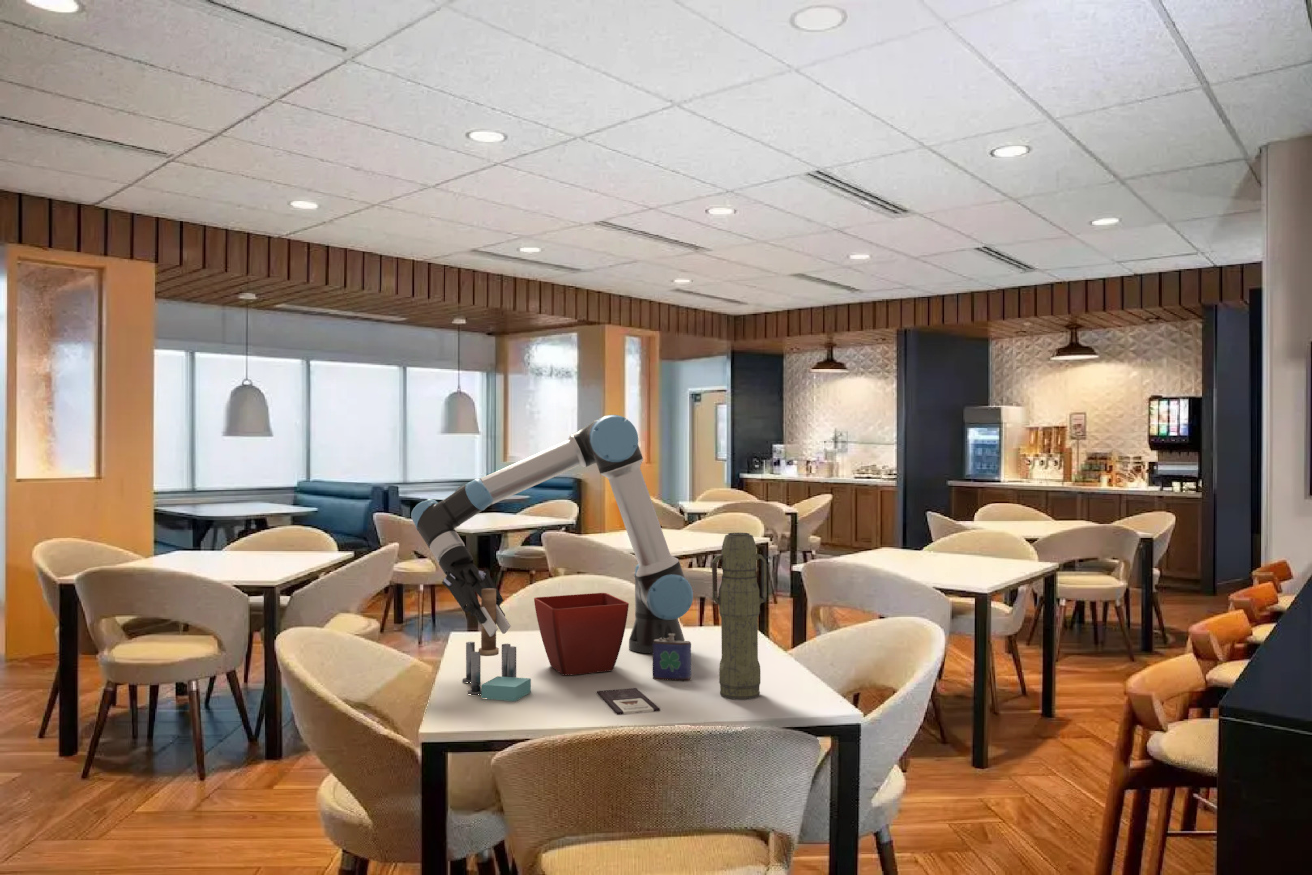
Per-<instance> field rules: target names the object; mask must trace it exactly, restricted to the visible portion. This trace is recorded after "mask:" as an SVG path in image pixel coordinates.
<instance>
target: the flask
mask: <svg viewBox="0 0 1312 875" xmlns="http://www.w3.org/2000/svg"><path fill="white" fill-rule="evenodd" d="M668 635H669V637H668V638H663V639H665V640H663V639H662V638H660V639H656V640H654V641H653V653H652V679H653V680H656V681H657V680H658V681H672V682H674V681H675V682H690V681H691V680H692V653H691V652H692V642H691V641H690V640H685V641H674V636H675V634H673V633H672V634H671V633H670V634H668Z"/></svg>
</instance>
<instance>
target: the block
mask: <svg viewBox="0 0 1312 875" xmlns="http://www.w3.org/2000/svg"><path fill="white" fill-rule="evenodd" d="M531 684H532V679H531V678H530V677H529V678H528V677H517V676H516V677H502V675H501V676H500V675H499V676H498V675H497V676H495V677H494V678H493V677H492V678H491V679H490V680H488V681H486V682H484V683H482V684H481V695H480V696H481V698H487V699H486V700H493V699H495V701H507V702H516V701H518V700H520V699H522V698H524V697H525V696H527V695H529V694H530V693H531V692H532V691H531V690H532V685H531Z"/></svg>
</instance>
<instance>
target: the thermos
mask: <svg viewBox="0 0 1312 875" xmlns="http://www.w3.org/2000/svg"><path fill="white" fill-rule="evenodd" d="M719 560H721V570H722V575H721V582H720V586H719V589H718V562H719ZM759 560H760V561H761V590H760V587H759V584H758V581H757V580H758V577H757V576H758V575H757V574H756V570H757V561H759ZM767 564H768V563H767V560H766V558H765V557H764V555H762V554H759V553H757V544H756V542H755V539H754V535H752V534H750V532H749V533H748V532H729V533H728V534H725V536H724V538H723V541H722V545H721V553H720V554H719V555H716V556H715V557H714V558H713V559H712V561H711V580H712V581H711V582H712V584H711V588H712V589H711V590H712V591H711V599H712V600H713V601H714V602H715V603H716V604H717V605H718V613H719V616H720V617H721V619H720V620H721V626H720V627H721V629H720V630H721V658H720V661H719V665H718V666H719V669H718V672H719V675H718V677H719V678H718V680H719V681H718V683H719V684H720V686H719V687H720V688H719V689H720V690H719V695H720V696H721V697H723V698H725V699H729V700H736V701H737V700H738V701H743V700H744V701H745V700H755V699H756V698H757V699H758V698H759V697H760V695H761V692H760V685H761V664H760V662H759V661H760V660H759V654H758V653H759V649H758V647H759V646H758V645H759V640H758V639H759V637H758V636H759V635H758V633H759V632H758V629H759V628H758V626H759V625H758V622H759V621H758V618H759V616H760V612H761V611H760V610H761V609H760V608H761V607H760V606H761V604H763V603H767V597H768V594H767V593H768V590H767V589H768V580H767V579H768V572H767V567H768V566H767ZM760 591H761V594H760Z"/></svg>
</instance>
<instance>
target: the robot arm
mask: <svg viewBox="0 0 1312 875" xmlns="http://www.w3.org/2000/svg"><path fill="white" fill-rule="evenodd" d="M643 461H644V458H643V454H642V452H641V448H640V447H639V434H638V432H637V429H636V427H635V425H634V424H633V423H632V422H631V421H630V420H629V419H628V418H626V417H624V416H622V415H618V414H608V415H603V417H600V418H597V419H595V420H594V421H591V423H590V424H588V425H587V426H584V427H583V428H581V429H579V430H578V431H575V432H573V433H571V434H570V435H569V436H568V439H566V440H564V441H562V442H560V443H558V444H555V445H553V446H550V447H549V448H547V449H544V450H542V451H540V452H537V453H535V454H533V455H531V456H528V457H526V458H524V459H522V460H519V461H516V462H514V463H512V464H510V465H507V466H505V467H503V468H501V469H499V470H496V471H494V472H491V473H490V474H487V475H485V476H483V477H480V478H475V479H473V480H471V481H469V482H467V483H466V484H462V485H460V486H459V487H457V489H456V490H454V492H453V493H451V494H450V495H449V496H447V497H446V498H445V499H443V500H441V501H439V502H438V501H437V500H435V499H431V498H430V499H429V498H428V499H426V500H424V501H421V502H419V503H417V504H416V505H415V507H413V509H412V511H411V514H410V516H411V520H412V522H413V524H414V526H415V528H416V530H417V532H418V534H420V536H421V538H422V539H423V541H424V542H425V544H426V546H427V547H428V549H429V550H430V552H431V553H432V555H433V556H434V559H435V560H436V561H437V563H438V565H439V567H440V568H441V570H442V571H443V573H444V575H445V577H444V579H443V580H442V582H441V583H442V585H443V586H444V587H445V588H447V589H448V591H449V592H450V593H451V595H452V596H453V597H454V599H455V600H456V602H457V603H458V605H459V606H460V608H461V609H462V611H463V612H464V613H465V614H468V613H469V616H470V617H475V618H476V619H477V621H478V622H479V624H480V625H481V624H482V625H483V626H484V628H485V630H486V631H487V633H488V635H489V636H490V637H491V636H493V635H494V633H495V632H496V633H497V631H498V629H499V630H500V632H501V634H503V635H504V634H506V633H507V632H508V631H509V629H510V628H511V627H512V626H511V623H510V622H509V621H508V619H507V618H506V614H505V612H504V611H503V610H502V608H501V606H500V605H501V604H502V603H503V601H504V598H503V597H502V594H501V593H500V591H499V589H498V588H497V586H496V585H495V582H494V581H493V579H492V578H491V575H490V571H489V570H488V569H487V568H486V569H484V570H479V568H478V567H477V566H476V565H475V564H474V558H473V555H472V554H471V552H470V551H469V550H468V548H467V547H466V545H465V542H464V541H463V540H462V538H461V537H460V535H459V534H458V532H457V530H456V528H458V527H460V526H461V525H462V524H463V523H465V522H467V521H469V520H470V519H471V518H473V517H475V516H476V515H477V514H479V513H481V512H482V511H485V510H486V509H487V508H488V507H490V506H492V505H494V504H496V503H499V502H501V501H503V500H506V499H508V498H509V497H512V496H515V495H516V494H519V493H521V492H524V491H525V490H528V489H530V488H532V487H534V486H537V485H539V484H542V483H544V482H546V481H548V480H551V479H553V478H555V477H557V476H560V475H562V474H564V473H566V472H568V471H571V470H574V469H575V468H578V467H582V468H587V467H589V466H591V465H595V464H596V466H597V469H598V471H599V472H598V473H599V474H600V475H601V476H603V477H605V478H607V480H608V483H609V484H610V485H609V486H610V487H611V491H612V494H613V496H614V499H615V502H616V505H617V507H618V509H619V510H618V511H619V514H620V516H621V519H622V522H623V524H624V528H625V530H626V533H627V535H628V538H629V541H630V544H631V548H632V550H633V553H634V555H635V558H636V561H637V564H636V566H635V569H634V575H633V576H634V596H635V598H634V605H635V607H634V612H635V613H634V616H635V617H634V619H635V620H634V623H633V626H632V629H631V632H630V636H629V639H628V649H629V650H631V651H633V652H636V653H643V654H653V641H654V640H656V639H660V638H662V639H663V638H668V637H669V635H668V634H670V633H671V634H672V633H673V634H675V636H674V641H686V640H685V636H684V634H683V631H682V627H681V624H680V621H679V619H680V618H682V617H683V616H685V615H686V614H687V613H688V611H689V610H690V608H691V607H692V605H693V600H694V591H693V588H692V584H690V582H689V581H688V580H687V578H686V577H685V574H684V572H683V568H682V565H681V563H680V560H679V558H677V557H675V556H673V555H672V554H671V552H670V549H669V547H668V544H667V541H666V537H665V535H664V533H663V532H664V531H663V529H662V527H661V524H660V521H659V518H658V515H657V513H656V510H655V507H654V504H653V502H652V498H651V496H650V495H651V494H650V492H649V489H648V487H647V484H646V481H645V477H644V475H643V473H642V470H641V465H642V463H643ZM485 588H494V589H496V625H495V623H494V621H493V620H492V618H491V617H490V615H489V613H488V612H487V610H486V609H485V607H482V608H481V603H480V602H479V599H478V597H477V595H478V596H479V598H480V599H481V589H485ZM476 594H477V595H476ZM663 640H665V639H663Z"/></svg>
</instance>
